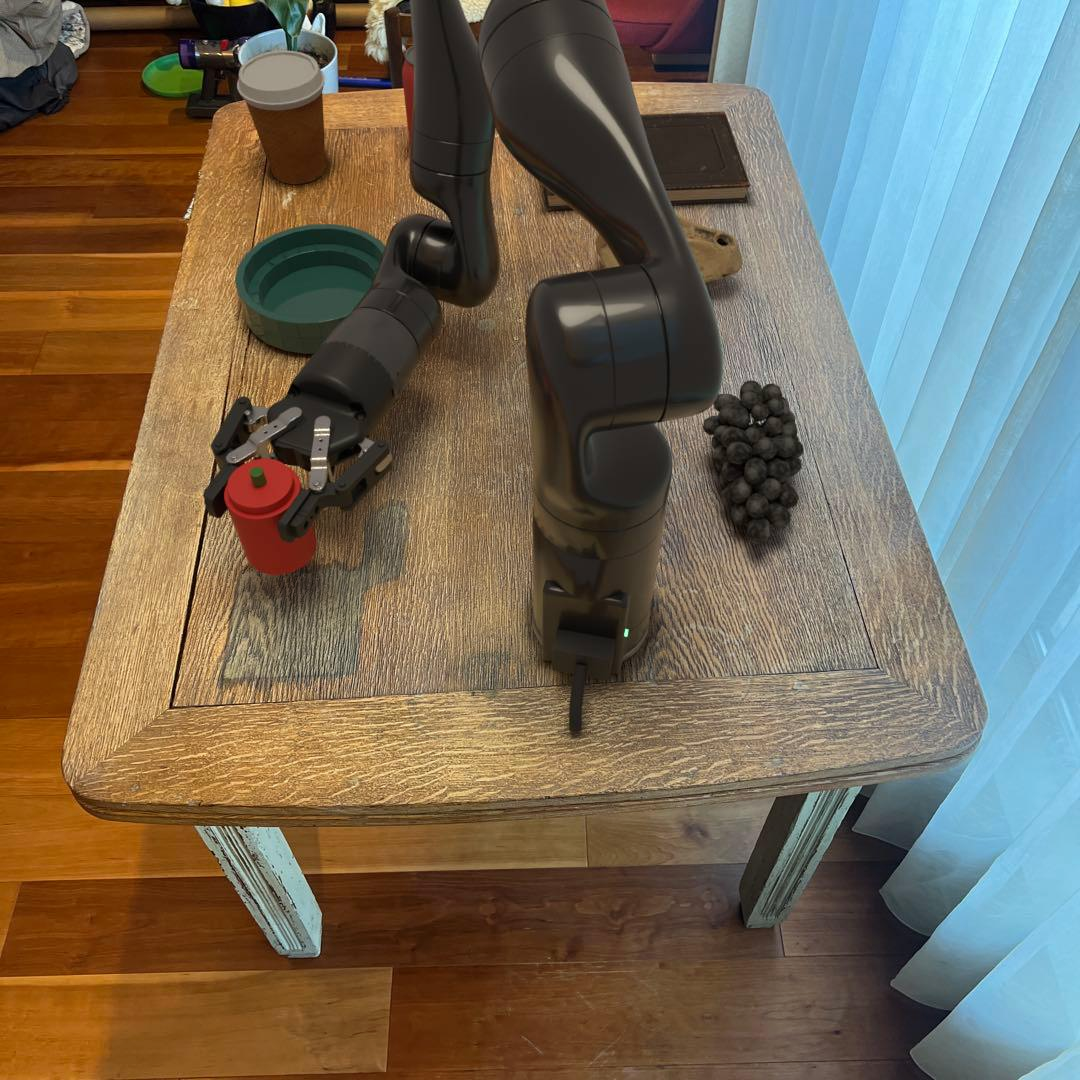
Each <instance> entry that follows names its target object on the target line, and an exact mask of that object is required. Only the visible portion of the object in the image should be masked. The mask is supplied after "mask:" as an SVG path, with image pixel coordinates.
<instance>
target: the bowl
mask: <svg viewBox="0 0 1080 1080" xmlns="http://www.w3.org/2000/svg"><path fill="white" fill-rule="evenodd" d="M385 245H386V244H384V243H383V242H382V241H381V240H380V239H379V238H377V237H375V236H374V235H373V234H370V233H369V232H367V231H365V230H362V229H358V228H357V227H356V228H355V227H353V226H350V225H344V224H336V223H316V224H314V223H313V224H306V225H301V226H300V225H299V226H295V227H290V228H287V229H285V230H281V231H279V232H275V233H274V234H271V235H270V236H268V237H266V238H264V239H263V240H261V241H259V242H258V243H256V244H255V245H254V246H253V247H252V248H251V249H249V251H247V252H246V253H245V254H244V256H243V258H242V259H241V260H240V262H239V264H238V265H237V267H236V273H235V278H234V283H235V288H236V292H237V295H238V299H239V302H240V307H241V310H242V313H243V317H244V320H245V323H246V325H247V326H248V328H249V329H250V330H251V332H252V333H253V334H254V336H256V337H257V338H258V339H260V340H261V341H263V342H264V343H265V344H267V345H269V346H271V347H274V348H277V349H280V350H282V351H285V352H290V353H291V352H292V353H298V354H305V355H308V354H309V355H311V354H312V355H313V354H314V353H315V352H316V350H317V349H318V348H319V347H320V346H321V344H322V343H323V342H324V341H325V339H326V338H327V337H328V335H329V334H330V333H331V332H332V331H333V329H334V328H335V327H336V326H337V325H338V324H339V323H341V322H342V321H343V320H344V319H345V318H346V317H347V316H348V315H349V314H350V313H351V312H352V311H353V309H354V308H355V307H356V306H357V304H358V303H359V302H360V300H361V299H362V298H363V297H364V295H365V294H366V293H367V292H368V290H369V289H370V287H371V284H372V282H373V280H374V277H375V275H376V273H377V270H378V267H379V265H380V262H381V259H382V256H383V253H384V249H385Z"/></svg>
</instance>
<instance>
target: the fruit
mask: <svg viewBox="0 0 1080 1080" xmlns="http://www.w3.org/2000/svg"><path fill="white" fill-rule="evenodd" d="M713 408H714V410H715V411H716V412H718V414H717V415H711V416H709V417H707V418H705V419H703V424H702V430H703V431H704V433H705V434H706V435H709V436H712V437H711V441H710V442H711V443H710V444H711V447H712V449H713V452H712V460H713V462H714V463H715V469H716V470H717V471H718V472H719V479H718V482H719V484H720V485H721V487H723V488H724V489H723V490H722V491H721V493H720V494H719V496H720V501H721V503H722V505H724V507H726V508H729V509H730V508H731V509H732V510H731V512H730V517H731V519H732V521H733V523H734V524H736V525H739V526H741V527H742V526H744V527H746V528H747V531H746V537H747V538H748V541H750V543H752V544H755V545H761V544H765V543H766V542H767V541H768V539H769V538H770V536H771V534H772V532H773V528H775V529H778V530H779V529H781V530H782V529H784V528H786V527H787V526H788V525H789V524H790V522H791V519H792V517H791V516H792V514H791V511H790V510H789V509H792V508H795V507H797V504H798V503H799V499H800V496H799V494H798V492H797V490H796V489H795V488H794V487H793V486H792V479H791V477H793V476H795V475H797V474H798V473H799V472H801V470H802V467H803V465H802V460H801V459H800V457H801V456H802V455H803V454H804V449H805V448H804V445H803V443H802V442H801V441H800V438H799V436H798V427H797V423H796V415H795V414H794V411H793V412H792V411H791V410H790V402H789V401H788V399H787V398H786V397H784V396H783V392H782V390H781V387H780V386H779V385H777V384H775V383H774V382H772V383H767V384H765V385H764V386H762V385H761V384H760V383H759V382H758V381H756V380H747V381H745V382H743V383H742V384H741V386H740V390H739V397H737V396H736V395H734V394H732V393H719V394H718V397H717V399H716V400H715V402H714V403H713ZM751 418H752V419H751ZM751 422H752V423H751ZM759 422H761V423H759ZM772 527H773V528H772Z"/></svg>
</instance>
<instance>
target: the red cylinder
mask: <svg viewBox="0 0 1080 1080" xmlns="http://www.w3.org/2000/svg"><path fill="white" fill-rule="evenodd" d="M252 460H253V459H252ZM302 488H303V487H302V483H301V480H300V478H299V475H298V474H297V473H296V471H295V470H293V468H291V467H290V466H289V465H286V464H283V463H282V462H280V461H277V460H273V459H257V460H253V461H251V460H249V461H246V462H245V464H243V465H241V466H240V467H239V468H237V469H236V470H235V471H234V472H233V473H232V475H231V476H230V478H229V480H228V483H227V485H226V488H225V491H224V500H225V503H226V506H227V508H228V509H227V512H228V514H229V516H230V519H231V521H232V524H233V527H234V529H235V532H236V534H237V537H238V540H239V542H240V545H241V546H242V550H243V553H244V554H245V558H246V560H247V563H249V565H250V566H251V567H252V568H253V569H254V570H256V571H257V572H259V573H262V574H265V575H270V576H280V575H281V576H282V575H287V574H291V573H293V572H295V571H298V570H300V569H301V568H303V567H304V566H305V565H306V564H308V563H309V562H310V561H311V559H312V558H313V556H314V555H315V553H316V550H317V546H318V541H317V540H318V539H317V535H316V531H315V528H314V525H313V524H314V523H313V524H312V526H311V527H310V528H309V530H308V531H307V533H306V534H305V535H304V536H303V537H301V538H300V539H299V538H296V539H295V540H294V542H293V543H288V542H285V541H282V540H281V538H280V535H279V532H278V528H277V525H278V522H279V520H280V519H281V517H282V516H283V514H284V513H285V512H286V510H287V509H288V508H289V506H290V505H291V503H292V502H293V501H294V499H295V498H296V496H297V495H298V494H299V492H300V491H301V489H302Z"/></svg>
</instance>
